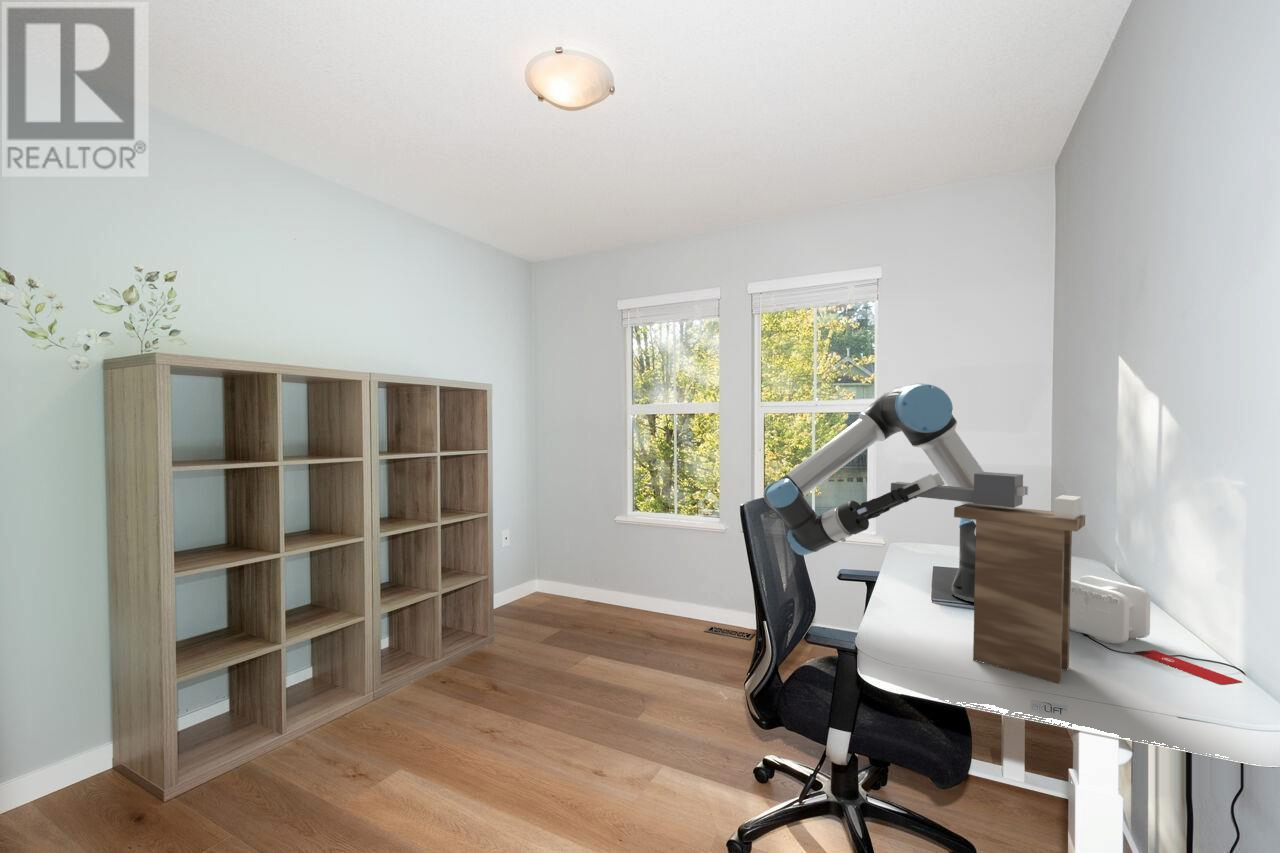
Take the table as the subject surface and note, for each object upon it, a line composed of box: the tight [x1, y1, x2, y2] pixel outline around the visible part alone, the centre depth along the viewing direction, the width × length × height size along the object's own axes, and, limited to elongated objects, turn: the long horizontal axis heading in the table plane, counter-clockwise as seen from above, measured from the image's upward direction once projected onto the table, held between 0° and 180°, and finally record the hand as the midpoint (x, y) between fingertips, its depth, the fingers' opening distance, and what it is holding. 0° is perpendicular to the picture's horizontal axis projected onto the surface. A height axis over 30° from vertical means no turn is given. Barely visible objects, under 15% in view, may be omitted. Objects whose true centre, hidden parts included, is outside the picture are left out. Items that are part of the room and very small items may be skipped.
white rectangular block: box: [1053, 494, 1083, 519], centre depth 107 cm, size 8×3×4 cm, turn 135°
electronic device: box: [1133, 649, 1243, 686], centre depth 112 cm, size 6×1×15 cm
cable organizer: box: [1070, 575, 1152, 644], centre depth 129 cm, size 15×11×12 cm
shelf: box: [953, 503, 1086, 684], centre depth 113 cm, size 10×20×30 cm, turn 45°
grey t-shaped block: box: [890, 471, 1029, 508], centre depth 120 cm, size 7×25×6 cm, turn 45°
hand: (937, 479), depth 123 cm, fingers closed on grey t-shaped block, 4 cm apart
